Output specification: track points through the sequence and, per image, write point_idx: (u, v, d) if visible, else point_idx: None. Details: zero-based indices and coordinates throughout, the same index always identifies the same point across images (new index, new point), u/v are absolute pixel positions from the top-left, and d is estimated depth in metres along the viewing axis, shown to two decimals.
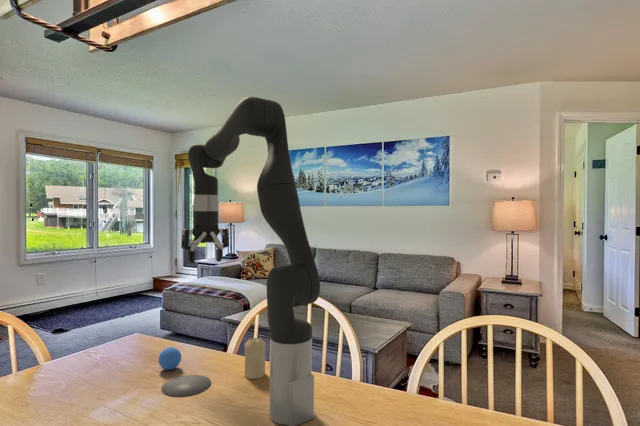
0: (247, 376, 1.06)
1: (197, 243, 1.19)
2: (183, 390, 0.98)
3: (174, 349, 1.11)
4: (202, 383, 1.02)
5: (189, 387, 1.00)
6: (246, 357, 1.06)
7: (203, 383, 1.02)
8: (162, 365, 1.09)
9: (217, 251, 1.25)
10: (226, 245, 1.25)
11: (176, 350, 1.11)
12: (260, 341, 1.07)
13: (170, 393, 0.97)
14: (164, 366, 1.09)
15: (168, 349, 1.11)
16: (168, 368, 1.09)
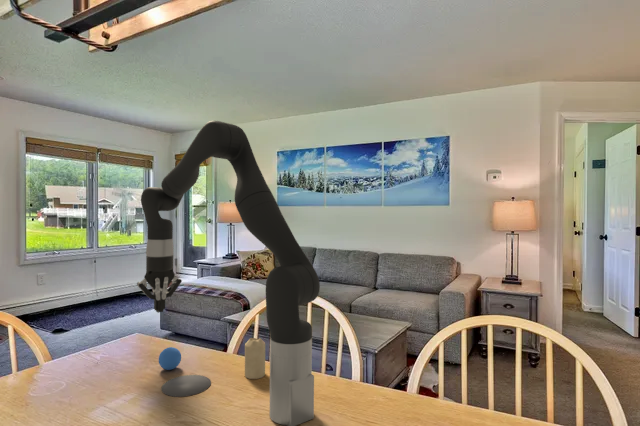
0: (247, 376, 1.06)
1: (158, 291, 1.17)
2: (183, 390, 0.98)
3: (174, 349, 1.11)
4: (202, 383, 1.02)
5: (189, 387, 1.00)
6: (246, 357, 1.06)
7: (203, 383, 1.02)
8: (162, 365, 1.09)
9: None
10: (169, 294, 1.19)
11: (176, 350, 1.11)
12: (260, 341, 1.07)
13: (170, 393, 0.97)
14: (164, 366, 1.09)
15: (168, 349, 1.11)
16: (168, 368, 1.09)
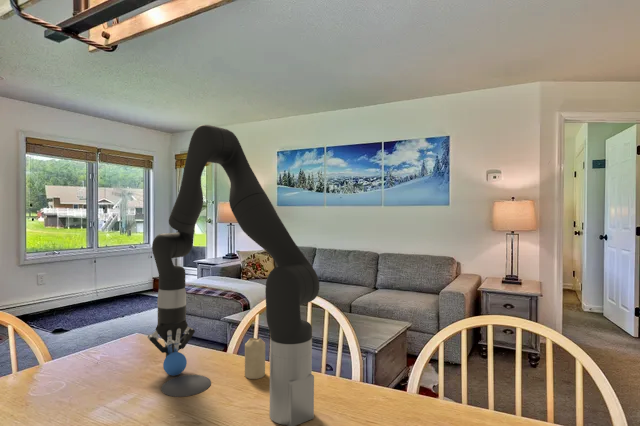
0: (247, 376, 1.06)
1: (170, 344, 1.09)
2: (183, 390, 0.98)
3: (181, 366, 1.06)
4: (202, 383, 1.02)
5: (189, 387, 1.00)
6: (246, 357, 1.06)
7: (203, 383, 1.02)
8: (165, 371, 1.07)
9: None
10: (181, 346, 1.12)
11: (183, 366, 1.07)
12: (260, 341, 1.07)
13: (170, 393, 0.97)
14: None
15: (176, 366, 1.05)
16: None
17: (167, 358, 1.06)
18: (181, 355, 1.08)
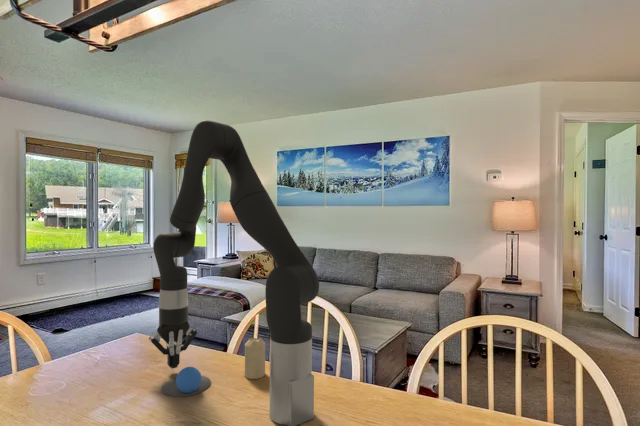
0: (247, 376, 1.06)
1: (172, 345, 1.07)
2: None
3: None
4: (202, 383, 1.02)
5: None
6: (246, 357, 1.06)
7: (203, 383, 1.02)
8: (180, 381, 0.95)
9: None
10: (183, 348, 1.10)
11: None
12: (260, 341, 1.07)
13: (170, 393, 0.97)
14: (182, 380, 0.95)
15: None
16: (187, 381, 0.95)
17: None
18: None
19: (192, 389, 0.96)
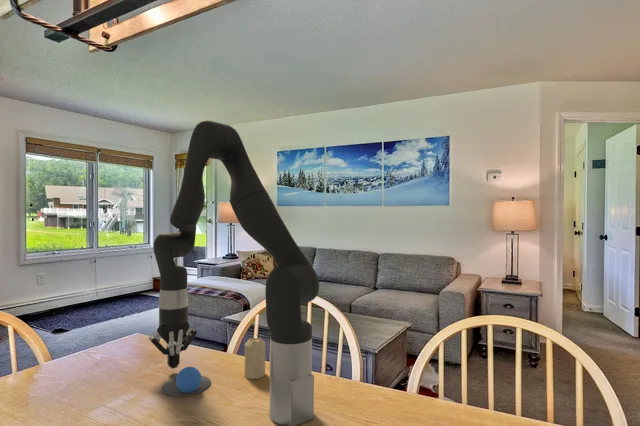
0: (247, 376, 1.06)
1: (172, 345, 1.07)
2: None
3: None
4: (202, 383, 1.02)
5: None
6: (246, 357, 1.06)
7: (203, 383, 1.02)
8: (180, 381, 0.95)
9: None
10: (183, 348, 1.10)
11: None
12: (260, 341, 1.07)
13: (170, 393, 0.97)
14: (182, 380, 0.95)
15: None
16: (187, 381, 0.95)
17: None
18: None
19: (192, 389, 0.96)
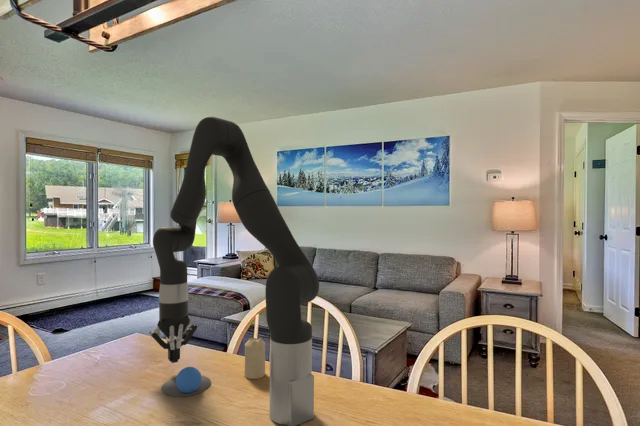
0: (247, 376, 1.06)
1: (172, 339, 1.07)
2: None
3: None
4: (202, 383, 1.02)
5: None
6: (246, 357, 1.06)
7: (203, 383, 1.02)
8: (180, 381, 0.95)
9: None
10: (184, 342, 1.09)
11: None
12: (260, 341, 1.07)
13: (170, 393, 0.97)
14: (182, 380, 0.95)
15: None
16: (187, 381, 0.95)
17: None
18: None
19: (192, 389, 0.96)
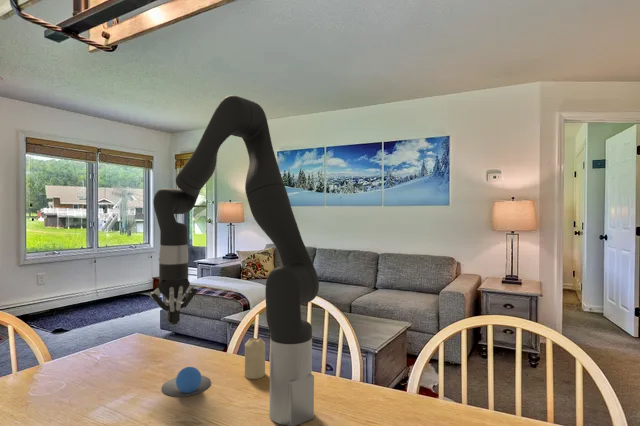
0: (247, 376, 1.06)
1: (172, 301, 1.07)
2: None
3: None
4: (202, 383, 1.02)
5: None
6: (246, 357, 1.06)
7: (203, 383, 1.02)
8: (180, 381, 0.95)
9: None
10: (184, 305, 1.09)
11: None
12: (260, 341, 1.07)
13: (170, 393, 0.97)
14: (182, 380, 0.95)
15: None
16: (187, 381, 0.95)
17: None
18: None
19: (192, 389, 0.96)
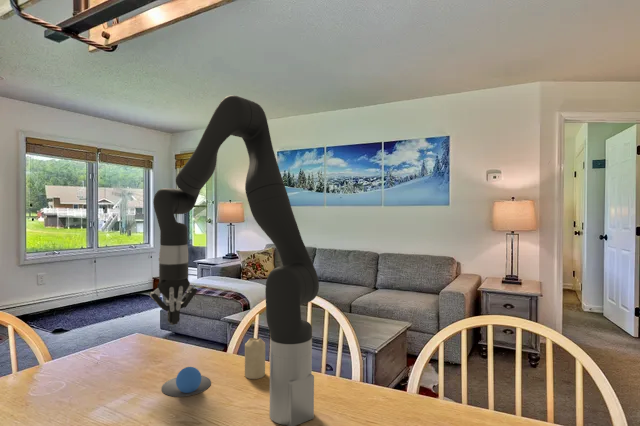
0: (247, 376, 1.06)
1: (172, 301, 1.07)
2: None
3: None
4: (202, 383, 1.02)
5: None
6: (246, 357, 1.06)
7: (203, 383, 1.02)
8: (180, 381, 0.95)
9: None
10: (184, 305, 1.09)
11: None
12: (260, 341, 1.07)
13: (170, 393, 0.97)
14: (182, 380, 0.95)
15: None
16: (187, 381, 0.95)
17: None
18: None
19: (192, 389, 0.96)
